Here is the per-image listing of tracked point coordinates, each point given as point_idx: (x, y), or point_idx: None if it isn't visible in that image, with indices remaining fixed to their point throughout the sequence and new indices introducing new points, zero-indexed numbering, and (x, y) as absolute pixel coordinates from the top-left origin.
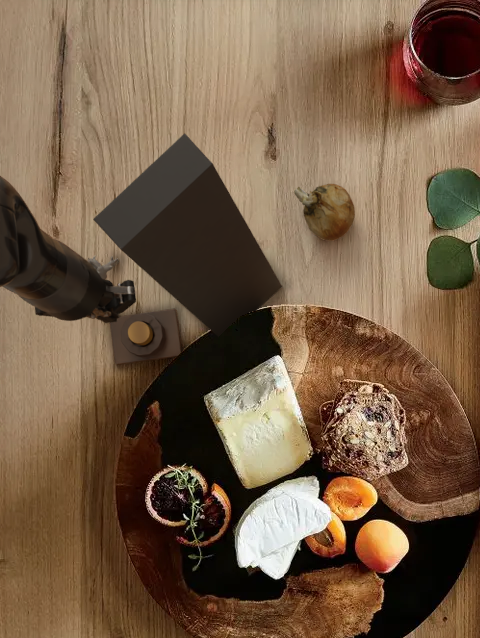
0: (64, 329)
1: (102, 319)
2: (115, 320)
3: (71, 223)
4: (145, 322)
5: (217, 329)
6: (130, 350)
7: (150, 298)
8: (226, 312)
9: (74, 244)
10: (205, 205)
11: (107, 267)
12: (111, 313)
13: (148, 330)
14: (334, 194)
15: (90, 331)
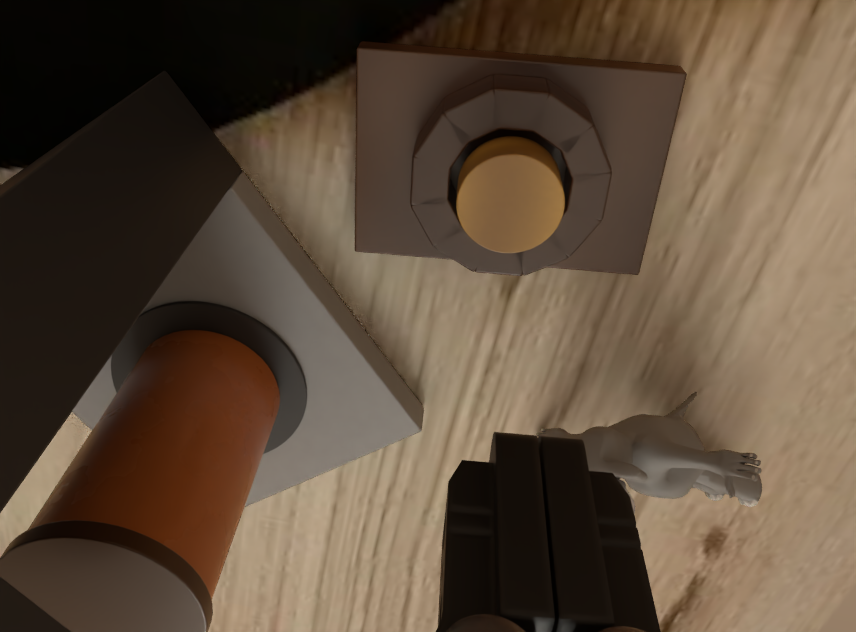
0: (841, 264)
1: (576, 540)
2: (495, 453)
3: (655, 552)
4: None
5: (62, 146)
6: (583, 126)
7: (455, 300)
8: None
9: (670, 504)
10: None
11: None
12: (466, 589)
13: (461, 204)
14: None
15: (738, 234)
